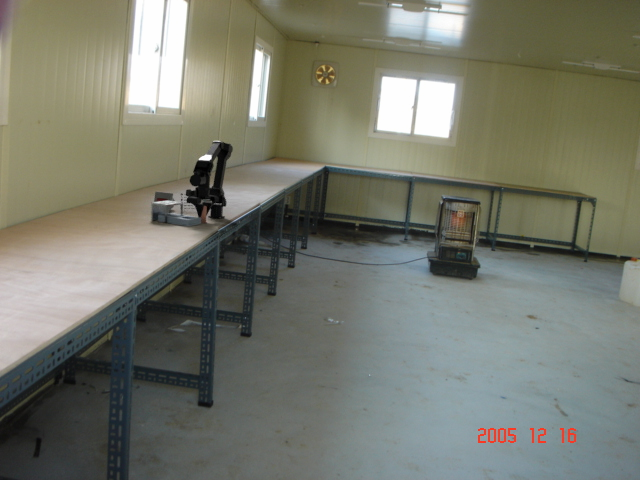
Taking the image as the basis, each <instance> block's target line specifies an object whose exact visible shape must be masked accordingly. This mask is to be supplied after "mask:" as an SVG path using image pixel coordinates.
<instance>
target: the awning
mask: <svg viewBox="0 0 640 480" xmlns="http://www.w3.org/2000/svg"><path fill="white" fill-rule="evenodd" d="M182 202H183V201H175V200H174V201H169V200H167V201H159V202H154V201H152V202H151V206H150V208H151V210H150V220H151V221H158V215H162V214H165V222H164V224H168V223H167V214H168V213H170V211H169V206H174V207H175V206H180V205H181V206H180V208H181V209H180V214H182V215H184V214H183V212H184V202H183V203H182Z"/></svg>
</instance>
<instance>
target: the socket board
mask: <svg viewBox="0 0 640 480" xmlns="http://www.w3.org/2000/svg"><path fill="white" fill-rule="evenodd" d="M157 221H158V222H161V223H165V214H162V215H158V220H157ZM166 224H173V225H178V226H184V227H193V226H196V225H201V224H202V223H201V218H200V217H198V216H194V215H186V214H183V215H182V214H181V213H174V212H169V213H168V214H167V223H166Z"/></svg>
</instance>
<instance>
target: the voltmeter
mask: <svg viewBox="0 0 640 480" xmlns="http://www.w3.org/2000/svg"><path fill="white" fill-rule="evenodd" d="M183 195H184V196H186V193H184V194H183V193H180V196H181V197H180V202H182V203H183V204H184V207H183V212H185V211H186V210H189V209H192V210H196V208H195V207H194V205H193V204H191V205H190V204H188V205H187V199H183V198H184V197H182V196H183ZM167 200H169V201H175V198H174V192H173V193H172V192H165V191H154V198H153V202H159V201H167ZM183 201H186V202H183ZM179 206H180V207H179V208H180V210H181V205H179ZM187 206H188V207H187ZM174 207H175V205H174V206H169V213H172V212H171V211H172V209H173V208H174Z"/></svg>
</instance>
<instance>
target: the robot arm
mask: <svg viewBox="0 0 640 480" xmlns="http://www.w3.org/2000/svg"><path fill="white" fill-rule="evenodd" d="M233 150H234V147H233V145H232V143H228V142H224V141H222V140H213V141H212V144H211V145H210V147H209V149H208V150H207V152H206V153H205V155H202V156H200V157H199V158H198V160H196V163H195V165H194V168H193V170H192V172H193V174H192V175H191V176H190V178H189V183H190V185H191V186H192V187H195V189H193V190H192V189H191V188H190V189H186V190H185V194H186V195H185V197H186V200H187V201H186V204H191V205H193V207H194V209H195V208H196V209H195V210H196V213H197V217H201V215H202V211H203V208H204V206H207V213H206V217H208V218H212V219H223V218H226V216H224V215H223V214H224V212H223V211H224V210H223V209H224V207H225V208H226V207H227V199H226V197H225V191H224V189H223V185H224V179H225V174H226V166H227V161H228V160H229V159H230V158H231V156H232V153H233ZM216 158H217V160H216V166H215V165H214V161H215V159H216ZM214 167H215V172H214V178H213V184H212V186H211V187H210V185H211V176H212V171H213V169H214ZM209 212H210V214H209ZM208 214H209V215H208Z"/></svg>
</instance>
